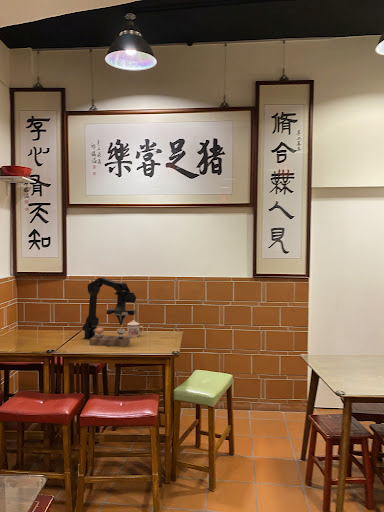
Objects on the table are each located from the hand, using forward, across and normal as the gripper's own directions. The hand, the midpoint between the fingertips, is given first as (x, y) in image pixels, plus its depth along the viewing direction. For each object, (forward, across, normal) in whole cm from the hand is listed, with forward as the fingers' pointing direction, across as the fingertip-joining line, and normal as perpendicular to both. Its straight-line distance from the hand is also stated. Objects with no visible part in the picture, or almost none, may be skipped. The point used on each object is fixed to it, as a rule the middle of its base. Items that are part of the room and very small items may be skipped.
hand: (121, 324), depth 264 cm
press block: (+13, -8, 0) cm, 15 cm away
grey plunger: (+9, 0, 0) cm, 9 cm away
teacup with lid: (+13, +4, +24) cm, 28 cm away
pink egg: (+10, -15, 0) cm, 18 cm away
